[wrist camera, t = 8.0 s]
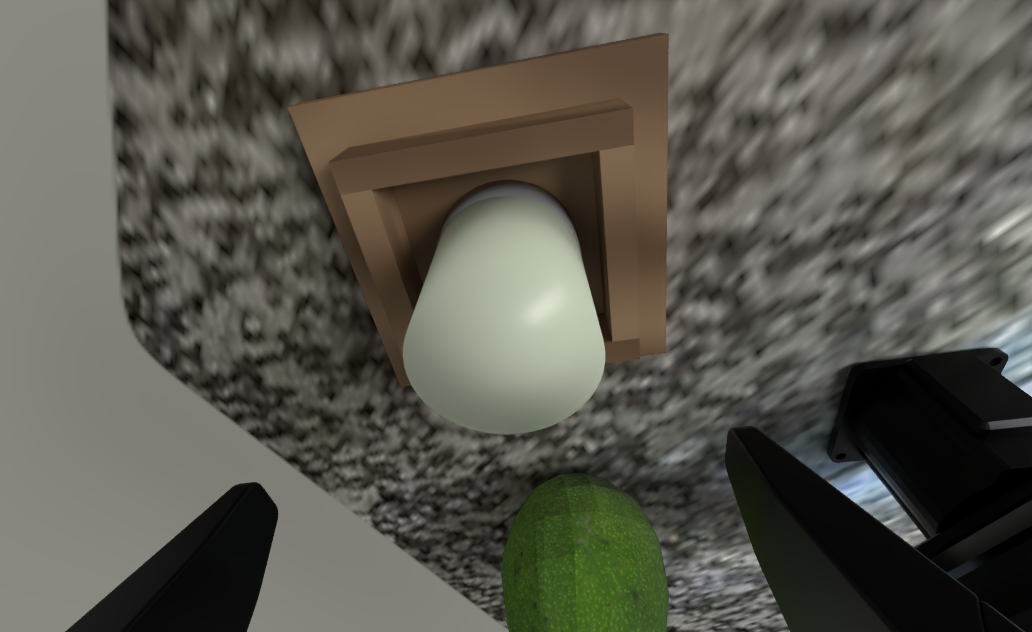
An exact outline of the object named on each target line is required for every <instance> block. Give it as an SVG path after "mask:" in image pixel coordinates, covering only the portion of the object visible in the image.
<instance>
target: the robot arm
mask: <svg viewBox="0 0 1032 632" xmlns="http://www.w3.org/2000/svg"><path fill="white" fill-rule="evenodd" d="M1007 361H1008V355H1007V354H1006V353H1004V352H1003V351H1001V350H1000V349H998V348H985V349H977V350H969V351H960V352H952V353H944V354H935V355H927V356H919V357H911V358H902V359H894V360H886V361H877V362H869V363H862V364H859V365H857V366H855V367H854V368H853V369H851V371H850V373H849V377H848V380H847V384H846V387H845V390H844V394H843V397H842V401H841V404H840V408H839V411H838V414H837V418H836V421H835V425H834V428H833V432H832V435H831V439H830V442H829V445H828V449H827V455H828V456H829V457H830V459H831V460H832V461H833V462H835V463H840V462H850V461H860V460H865V461H866V463H867V464H868V465H869V466H870V468H871V469H872V470H873V471H874V473H875V474H876V475H877V477H878V478H879V479H880V480H881V482H882V483H883V484H884V485H885V487H886V488H887V489H888V491H889V492H890V493H891V494H892V496H893V497H894V498H895V499H896V501H897V502H898V503H899V504H900V506H901V507H902V508H903V510H904V511H905V512H906V513H907V515H908V516H909V517H910V518H911V520H912V521H913V522H914V523H915V525H916V526H917V527H918V529H919V530H920V531H921V532H922V534H923V535H924V536H925V537H926V539H927V540H925V541H924V542H922V543H921V544H919V545H917V546H916V547H912V546H911V545H910V544H908V543H907V542H906V541H904V540H903V539H902V538H900V537H899V536H898V535H897V534H895V533H894V532H893V531H891V530H890V529H889V528H887V527H886V526H885V525H883V524H882V523H881V522H879V521H878V520H877V519H876V518H874V517H873V516H872V515H870V514H869V513H868V512H866V511H865V510H864V509H862V508H861V507H860V506H858V505H857V504H856V503H855V502H853V501H852V500H851V499H849V498H848V497H847V496H845V495H844V494H843V493H841V492H840V491H839V490H837V489H836V488H835V487H833V486H832V485H831V484H830V483H828V482H827V481H826V480H824V479H823V478H822V477H820V476H819V475H818V474H816V473H815V472H814V471H812V470H811V469H810V468H809V467H807V466H806V465H805V464H803V463H802V462H801V461H799V460H798V459H797V458H795V457H794V456H793V455H791V454H790V453H789V452H787V451H786V450H785V449H784V448H782V447H781V446H780V445H778V444H777V443H776V442H774V441H773V440H772V439H770V438H769V437H768V436H766V435H765V434H764V433H763V432H761V431H760V430H759V429H757V428H755V427H753V426H745V427H736V428H731V429H730V430H729V431H728V435H727V444H726V453H725V465H726V470H727V473H728V476H729V479H730V482H731V485H732V488H733V491H734V494H735V497H736V500H737V503H738V506H739V509H740V512H741V514H742V517H743V520H744V523H745V526H746V529H747V532H748V535H749V538H750V541H751V544H752V547H753V549H754V552H755V555H756V557H757V560H758V562H759V564H760V567H761V569H762V571H763V573H764V575H765V578H766V580H767V582H768V584H769V586H770V589H771V591H772V593H773V595H774V597H775V599H776V602H777V604H778V606H779V608H780V610H781V612H782V615H783V617H784V619H785V621H786V623H787V625H788V628H789V630H790V632H1032V397H1031V396H1030V395H1028V394H1027V393H1025V392H1024V391H1023V390H1021V389H1020V388H1019V387H1017V386H1016V385H1014V384H1013V383H1012V382H1010V381H1009V380H1008V379H1006V378H1005V377H1004V376H1002V375H1001V372H1002V370H1003V368H1004V367H1005V365H1006V363H1007ZM277 520H278V509H277V506H276V504H275V503H274V502H273V500H272V499H271V498H270V496H269V495H268V494H267V492H266V491H265V489H264V488H263V487H262V486H261V485H260V484H259V483H257V482H252V483H244V484H238V485H235V486H233V487H232V488H231V489H230V490H228V491H227V492H226V493H225V494H224V495H223V496H222V497H220V498H219V499H218V500H217V501H216V502H215V503H214V504H212V505H211V506H210V507H209V508H208V509H207V510H205V511H204V512H203V513H202V514H201V515H200V516H198V517H197V518H196V519H195V520H194V521H193V522H191V523H190V524H189V525H188V526H187V527H186V528H185V529H183V530H182V531H181V532H180V533H179V534H178V535H176V536H175V537H174V538H173V539H172V540H171V541H170V542H169V543H167V544H166V545H165V546H164V547H163V548H162V549H161V550H159V551H158V552H157V553H156V554H155V555H154V556H152V557H151V558H150V559H149V560H148V561H146V562H145V563H144V564H143V565H142V566H141V567H139V568H138V569H137V570H136V571H135V572H134V573H133V574H131V575H130V576H129V577H128V578H127V579H126V580H125V581H123V582H122V583H121V584H120V585H119V586H118V587H116V588H115V589H114V590H113V591H112V592H111V593H110V594H108V595H107V596H106V597H105V598H104V599H102V600H101V601H100V602H99V603H98V604H97V605H96V606H95V607H93V608H92V609H91V610H90V611H89V612H87V613H86V614H85V615H84V616H83V617H82V618H81V619H79V620H78V621H77V622H76V623H75V624H74V625H73V626H71V627H70V628H69V629H68V630H67V631H65V632H247V629H248V626H249V624H250V621H251V618H252V615H253V612H254V609H255V606H256V603H257V600H258V596H259V592H260V588H261V585H262V581H263V577H264V573H265V568H266V565H267V561H268V557H269V553H270V549H271V544H272V540H273V536H274V532H275V528H276V524H277Z"/></svg>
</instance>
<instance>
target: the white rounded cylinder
mask: <svg viewBox="0 0 1032 632" xmlns="http://www.w3.org/2000/svg"><path fill="white" fill-rule="evenodd" d="M403 361H404V367H405V371H406V374H407V377H408V379H409V381H410V383H411V385H412V387H413V389H414V390H415V392H416V393H417V395H418V396H419V397H420V398H421V399H422V400H423V401H424V403H425V404H427V405H428V406H429V407H430V408H431V409H432V410H433V411H435V412H436V413H438V414H439V415H440V416H442V417H444V418H445V419H447V420H449V421H451V422H453V423H455V424H457V425H460V426H462V427H465V428H468V429H471V430H475V431H480V432H484V433H492V434H521V433H527V432H532V431H536V430H540V429H544V428H546V427H549V426H552V425H554V424H556V423H558V422H560V421H562V420H564V419H566V418H567V417H569V416H571V415H572V414H574V413H575V412H576V411H577V410H578V409H580V408H581V407H582V406H583V405H584V404H585V403H586V402H587V401H588V400H589V399H590V397H591V396H592V394H593V393H594V392H595V390H596V388H597V386H598V384H599V382H600V380H601V377H602V374H603V371H604V365H605V346H604V340H603V337H602V333H601V329H600V325H599V321H598V318H597V314H596V310H595V306H594V303H593V299H592V295H591V291H590V288H589V284H588V280H587V276H586V273H585V269H584V265H583V261H582V255H581V249H580V244H579V241H578V237H577V233H576V230H575V226H574V223H573V220H572V218H571V216H570V214H569V212H568V211H567V210H566V208H565V207H564V205H563V204H562V203H561V202H560V201H559V200H558V199H557V198H556V197H555V196H554V195H553V194H551V193H550V192H548V191H547V190H545V189H544V188H542V187H539V186H537V185H535V184H532V183H529V182H526V181H520V180H507V179H505V180H496V181H492V182H488V183H485V184H482V185H480V186H477V187H476V188H474V189H472V190H470V191H469V192H467V193H466V194H465V195H463V196H462V197H461V198H460V199H459V200H458V201H457V202H456V203H455V205H454V206H453V207H452V209H451V210H450V212H449V214H448V216H447V218H446V220H445V223H444V226H443V228H442V231H441V234H440V236H439V239H438V242H437V246H436V251H435V255H434V257H433V260H432V263H431V266H430V268H429V271H428V274H427V277H426V279H425V282H424V285H423V288H422V290H421V293H420V296H419V299H418V301H417V304H416V307H415V310H414V313H413V315H412V318H411V321H410V324H409V326H408V329H407V332H406V335H405V339H404V344H403Z"/></svg>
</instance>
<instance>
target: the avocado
mask: <svg viewBox="0 0 1032 632" xmlns="http://www.w3.org/2000/svg"><path fill="white" fill-rule="evenodd" d="M501 575H502V584H503V593H504V601H505V610H506V618H507V625H508V629H509V632H666V628H667V615H668V602H669V591H668V586H667V580H666V574H665V569H664V563H663V558H662V552H661V548H660V544H659V540H658V537H657V536H656V534H655V532H654V530H653V528H652V527H651V525H650V523H649V521H648V519H647V518H646V516H645V514H644V512H643V510H642V509H641V507H640V505H639V504H638V503H637V502H636V501H635V500H634V499H633V498H632V497H631V496H630V495H629V494H628V493H626V492H625V491H623V490H621V489H620V488H618V487H616V486H615V485H613V484H611V483H610V482H608V481H607V480H604V479H600V478H597V477H594V476H591V475H588V474H585V473H574V474H562V475H558V476H556V477H554V478H552V479H550V480H548V481H546V482H545V483H543V484H541V485H539V486H537V488H536V489H535V490H534V491H533V492H532V493H531V495H530V496H529V497H528V499H527V500H526V502H525V503H524V505H523V506H522V508H521V509H520V511H519V513H518V514H517V516H516V518H515V519H514V521H513V525H512V528H511V531H510V534H509V537H508V540H507V543H506V546H505V550H504V553H503V562H502V574H501Z"/></svg>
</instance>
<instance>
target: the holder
mask: <svg viewBox="0 0 1032 632" xmlns="http://www.w3.org/2000/svg"><path fill="white" fill-rule="evenodd" d="M288 109H289V112H290V114H291V117H292V119H293V122H294V124H295V127H296V129H297V132H298V134H299V137H300V139H301V142H302V144H303V146H304V149H305V151H306V154H307V156H308V159H309V161H310V164H311V166H312V169H313V171H314V174H315V176H316V179H317V181H318V184H319V186H320V189H321V191H322V194H323V196H324V198H325V201H326V203H327V206H328V208H329V211H330V213H331V216H332V218H333V221H334V223H335V226H336V228H337V231H338V233H339V236H340V238H341V241H342V243H343V246H344V248H345V251H346V253H347V255H348V258H349V260H350V263H351V265H352V268H353V270H354V273H355V275H356V278H357V280H358V283H359V285H360V288H361V290H362V293H363V295H364V298H365V300H366V303H367V305H368V307H369V310H370V312H371V315H372V317H373V320H374V322H375V325H376V327H377V330H378V332H379V335H380V337H381V340H382V342H383V345H384V347H385V350H386V352H387V355H388V357H389V359H390V362H391V364H392V367H393V369H394V372H395V374H396V377H397V379H398V382H399V384H400V387H403V386H410V385H411V383H410V381H409V379H408V377H407V374H406V371H405V367H404V361H403V344H404V339H405V335H406V332H407V329H408V326H409V324H410V321H411V318H412V315H413V313H414V310H415V307H416V304H417V301H418V299H419V296H420V293H421V290H422V288H423V285H424V282H425V279H426V277H427V274H428V271H429V268H430V266H431V263H432V260H433V257H434V255H435V251H436V246H437V242H438V239H439V236H440V234H441V231H442V228H443V226H444V223H445V220H446V218H447V216H448V214H449V212H450V210H451V209H452V207H453V206H454V205H455V203H456V202H457V201H458V200H459V199H460V198H461V197H462V196H463V195H465V194H466V193H467V192H469V191H470V190H472V189H474V188H476V187H477V186H480V185H482V184H485V183H488V182H492V181H496V180H505V179H507V180H520V181H526V182H529V183H532V184H535V185H537V186H539V187H542V188H544V189H545V190H547V191H548V192H550V193H551V194H553V195H554V196H555V197H556V198H557V199H558V200H559V201H560V202H561V203H562V204H563V205H564V207H565V208H566V210H567V211H568V212H569V214H570V216H571V218H572V220H573V223H574V226H575V230H576V233H577V237H578V241H579V244H580V249H581V255H582V261H583V265H584V269H585V273H586V276H587V280H588V284H589V288H590V291H591V295H592V299H593V303H594V306H595V310H596V314H597V318H598V321H599V325H600V329H601V333H602V337H603V340H604V346H605V363H613V362H621V361H628V360H636V359H640V356H646V355H653V354H661V353H665V351H666V245H667V140H668V34H665V33H657V34H652V35H647V36H642V37H637V38H632V39H626V40H621V41H616V42H611V43H606V44H601V45H595V46H590V47H585V48H580V49H575V50H569V51H564V52H559V53H554V54H549V55H544V56H538V57H533V58H528V59H523V60H518V61H513V62H507V63H502V64H497V65H492V66H487V67H481V68H476V69H471V70H466V71H461V72H456V73H450V74H445V75H440V76H435V77H430V78H425V79H419V80H414V81H409V82H404V83H399V84H393V85H388V86H383V87H378V88H373V89H368V90H362V91H357V92H352V93H347V94H342V95H337V96H331V97H326V98H321V99H316V100H311V101H305V102H300V103H298V104H295V105H292V106H289V107H288Z"/></svg>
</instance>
